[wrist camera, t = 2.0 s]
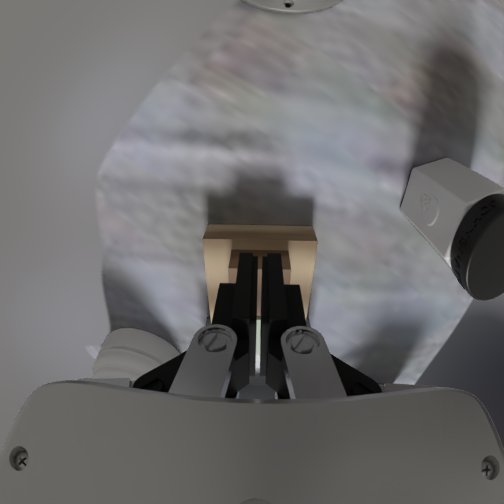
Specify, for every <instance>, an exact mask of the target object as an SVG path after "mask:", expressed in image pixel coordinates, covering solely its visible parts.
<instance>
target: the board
mask: <svg viewBox="0 0 504 504" xmlns="http://www.w3.org/2000/svg"><path fill="white" fill-rule="evenodd" d="M317 242H318V241H317V238H316V235H315V232H314V229H313V226H280V225H226V224H208V226H207V229H206V232H205V234H204V237H203V248H204V260H205V270H206V281H207V290H208V300H209V309H210V318H211V323H212V318H213V313H214V308H215V303H216V298H217V293H218V288H219V284H220V283H229V276H228V266H229V261H230V255H231V250H232V249H235V250H284V251H289V257H290V264H291V278H290V284H299V285H300V289H301V295H302V301H303V307H304V313H305V319H306V317H307V311H308V305H309V299H310V292H311V286H312V279H313V272H314V265H315V258H316V250H317Z"/></svg>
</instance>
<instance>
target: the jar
mask: <svg viewBox="0 0 504 504" xmlns="http://www.w3.org/2000/svg"><path fill="white" fill-rule="evenodd" d="M400 211H401V213H402V214H403V215H404V216H405V217H406V218H407V219H408V220H409V222H410V223H411V224H412V225H413V226H414V227H415V229H416V230H417V231H418V232H419V233H420V234H421V236H422V237H423V238H424V239H425V240H426V241H427V242H428V243H429V245H430V246H431V247H432V248H433V249H434V250H435V251H436V253H437V254H438V255H439V256H440V257H441V258H442V260H443V261H444V262H445V263H446V264H447V266H448V267H449V268H450V269H451V270H452V272H453V273H454V275H455V276H456V278H457V280H458V282H459V283H460V284H461V286H462V287H463V288H464V289H466V291H467V292H468V293H469V294H470V295H471V296H472V297H473V298H475V299H477V300H489V299H493V298H495V297H497V296H499V295H501V294H502V293H504V188H503V187H501V186H500V185H498V184H496V183H495V182H493V181H491V180H489V179H488V178H486V177H484V176H482V175H481V174H479V173H477V172H475V171H473V170H471V169H469V168H468V167H466V166H464V165H462V164H460V163H458V162H456V161H454V160H452V159H450V158H444V159H440V160H437V161H434V162H431V163H427V164H424V165H421V166H418V167H414V168H413V169H412V171H411V175H410V178H409V182H408V185H407V189H406V192H405V195H404V198H403V202H402V205H401V208H400Z"/></svg>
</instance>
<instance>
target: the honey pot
mask: <svg viewBox="0 0 504 504" xmlns="http://www.w3.org/2000/svg"><path fill="white" fill-rule="evenodd" d="M178 355H180V353H179V352H178V351H177V350H176V348H175V347H174V346H172V345H171V344H170V343H168V342H167V341H165V340H164V339H162V338H160V337H158V336H156V335H154V334H152V333H149V332H146V331H143V330H139V329H133V328H121V329H117V330H114V331H112V332H111V333H110V334H108V335H107V337H106V339H105V341H104V343H103V345H102V347H101V349H100V351H99V354H98V356H97V358H96V360H95V362H94V365H93V375H94V376H93V378H130V379H131V381H134V380H137V379H138V378H139V377H140V376H142V375H143V374H145V373H147V372H149V371H151V370H153V369H155V368H156V367H158V366H160V365H162V364H164V363H166V362H167V361H169V360H171V359H173V358H175V357H176V356H178Z"/></svg>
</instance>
